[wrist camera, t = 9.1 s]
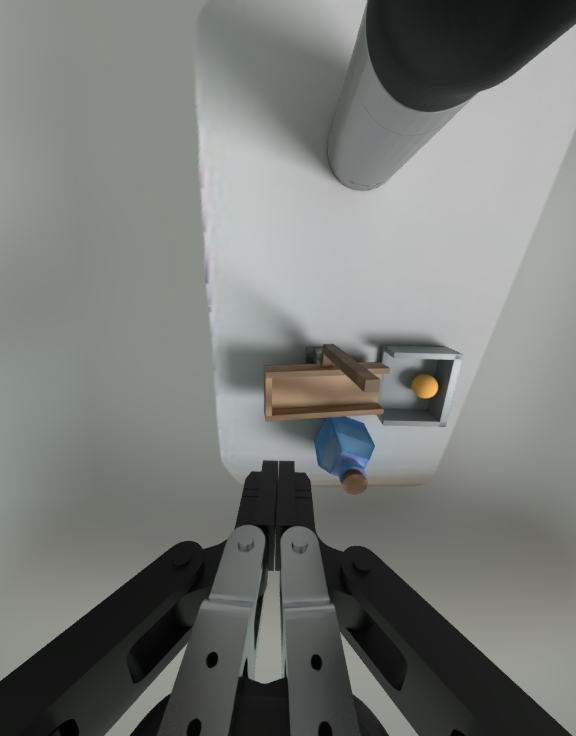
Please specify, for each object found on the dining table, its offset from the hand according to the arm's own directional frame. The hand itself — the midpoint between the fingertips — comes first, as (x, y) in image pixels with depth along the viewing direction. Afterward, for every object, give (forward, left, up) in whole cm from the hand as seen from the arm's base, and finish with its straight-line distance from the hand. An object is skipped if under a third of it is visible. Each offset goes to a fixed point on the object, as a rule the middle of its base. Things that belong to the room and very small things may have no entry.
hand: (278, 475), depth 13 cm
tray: (+6, +19, -29) cm, 35 cm away
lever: (+4, +6, -26) cm, 27 cm away
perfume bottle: (+16, +9, -29) cm, 34 cm away
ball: (+6, +21, -27) cm, 35 cm away
